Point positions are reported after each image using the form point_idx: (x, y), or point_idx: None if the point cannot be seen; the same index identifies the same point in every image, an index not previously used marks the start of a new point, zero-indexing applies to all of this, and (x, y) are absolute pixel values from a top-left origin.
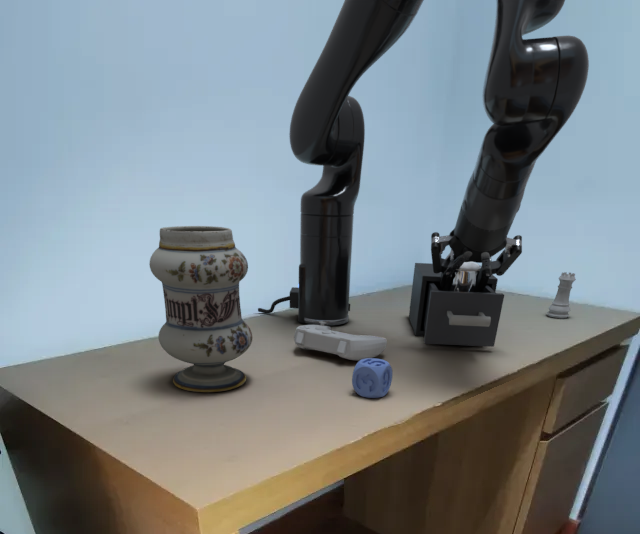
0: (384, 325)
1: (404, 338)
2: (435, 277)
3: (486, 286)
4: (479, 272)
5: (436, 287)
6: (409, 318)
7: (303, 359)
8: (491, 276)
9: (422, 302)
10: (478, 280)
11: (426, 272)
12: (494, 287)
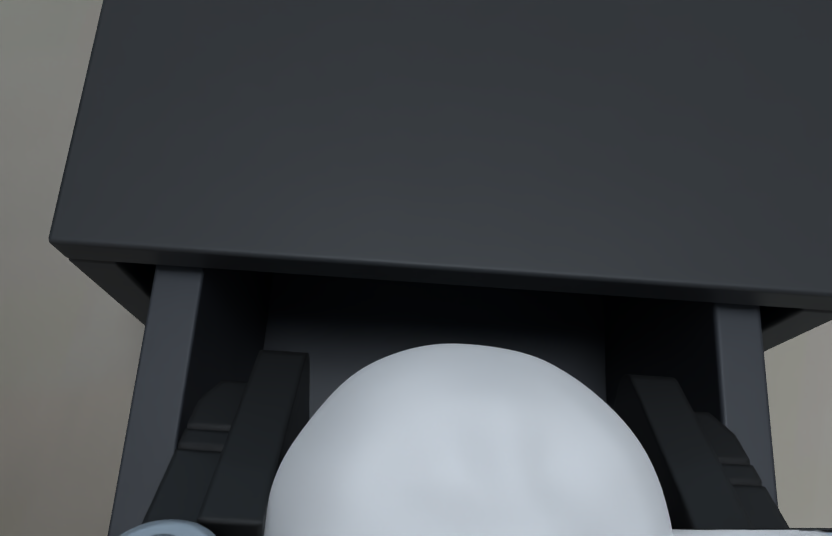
0: (55, 127)
1: (103, 443)
2: (194, 256)
3: (733, 353)
4: (665, 493)
5: None
6: None
7: None
8: (822, 158)
9: None
10: None
11: (155, 38)
12: (814, 318)
